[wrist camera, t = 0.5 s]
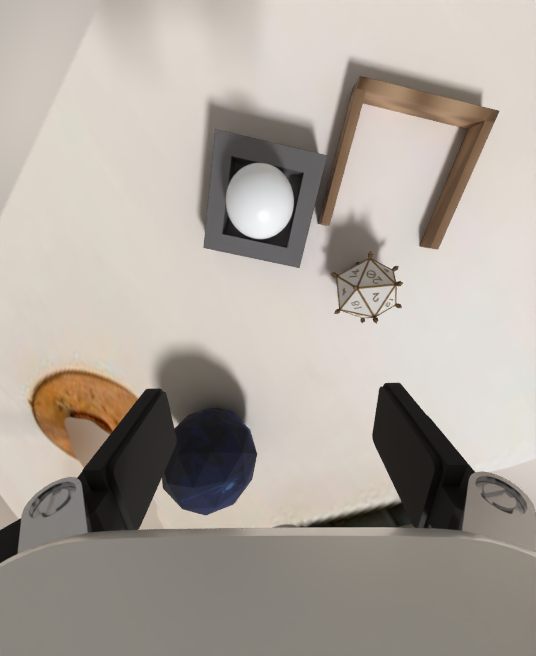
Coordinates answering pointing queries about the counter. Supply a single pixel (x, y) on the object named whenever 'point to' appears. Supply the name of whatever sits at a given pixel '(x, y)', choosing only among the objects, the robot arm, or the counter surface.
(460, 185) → the walnut bay
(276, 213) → the dome
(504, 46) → the counter surface
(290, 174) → the dome base
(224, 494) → the decorative orb
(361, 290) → the game die
